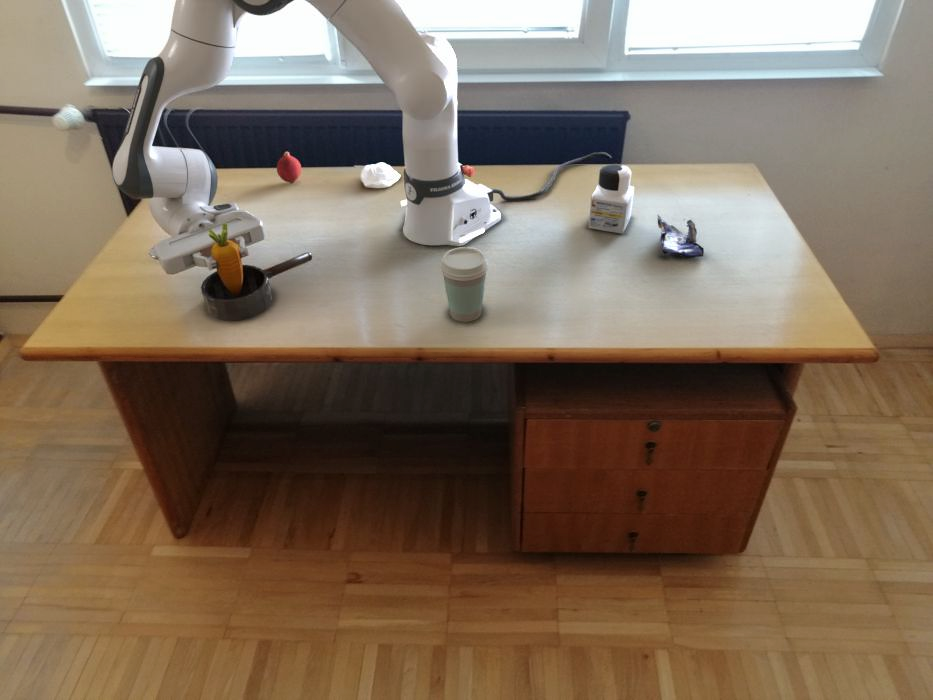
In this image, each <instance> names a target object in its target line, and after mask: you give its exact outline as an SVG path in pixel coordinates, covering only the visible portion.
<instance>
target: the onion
mask: <svg viewBox="0 0 933 700" xmlns="http://www.w3.org/2000/svg"><path fill="white" fill-rule="evenodd" d="M276 173H277V175H278V176H279V178H280V180H282V181H284V182H286V183H289V184H294V183H295V182H296V181H297V180H298V179H299V177H300V176H301V175H302V165H301V163H300V161H299V159H297V158H296V157H294V156H292V155H290V152H289V151H285V152H284V153H283V155H282V157H280V159H278V161H277V164H276Z"/></svg>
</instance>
